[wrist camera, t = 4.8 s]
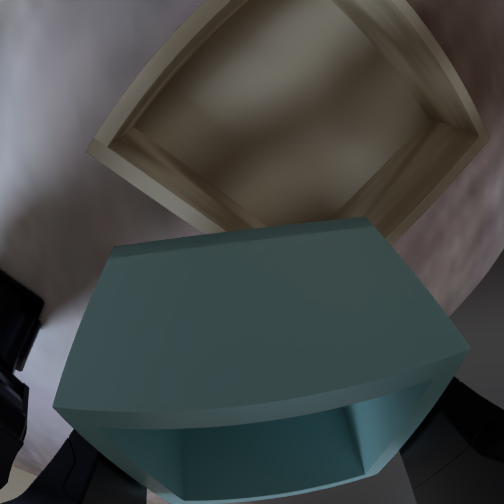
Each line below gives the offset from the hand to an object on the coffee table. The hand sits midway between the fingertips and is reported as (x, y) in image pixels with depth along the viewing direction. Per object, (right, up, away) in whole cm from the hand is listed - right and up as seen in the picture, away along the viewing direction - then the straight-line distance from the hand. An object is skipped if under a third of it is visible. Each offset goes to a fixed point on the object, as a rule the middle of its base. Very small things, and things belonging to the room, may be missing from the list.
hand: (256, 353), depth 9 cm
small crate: (0, +1, +1) cm, 1 cm away
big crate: (+2, +11, +7) cm, 13 cm away
